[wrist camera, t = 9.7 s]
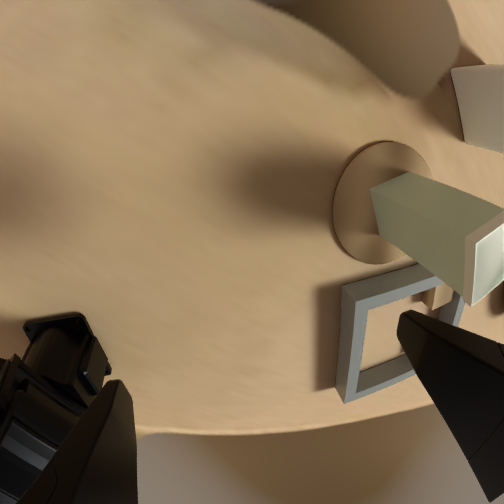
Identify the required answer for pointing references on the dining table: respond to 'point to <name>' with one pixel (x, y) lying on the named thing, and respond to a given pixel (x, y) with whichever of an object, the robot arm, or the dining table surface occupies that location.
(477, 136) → the medicine bottle
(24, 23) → the dining table surface
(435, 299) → the block
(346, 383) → the grey square frame
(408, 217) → the tall square-topped block
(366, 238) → the coaster
